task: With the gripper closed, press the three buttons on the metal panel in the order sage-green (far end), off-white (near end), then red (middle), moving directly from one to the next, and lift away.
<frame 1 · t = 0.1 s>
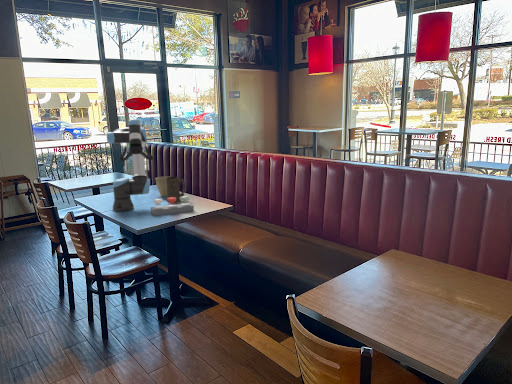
hand: (137, 169, 235), 36 cm above the table, tool tilted 35°, fingers open, 13 cm apart
button panel: (172, 211, 273), on the table
white button: (158, 202, 268), point 8 cm above the table, slide at 0.0 cm
green button: (185, 199, 276), point 8 cm above the table, slide at 0.0 cm
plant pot: (165, 195, 330), on the table
beer stein: (176, 200, 310), on the table
red button: (172, 200, 272), point 8 cm above the table, slide at 0.0 cm
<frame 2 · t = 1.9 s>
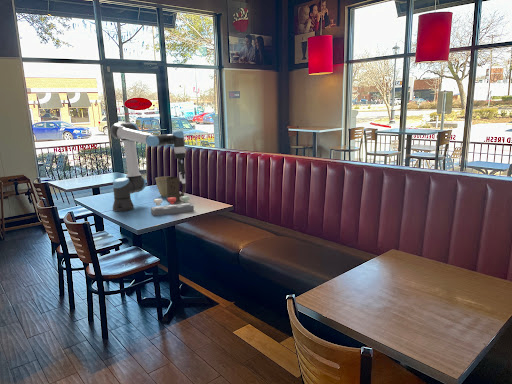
hand: (182, 182, 269), 22 cm above the table, tool pointing down, fingers open, 13 cm apart
nothing on the table moved.
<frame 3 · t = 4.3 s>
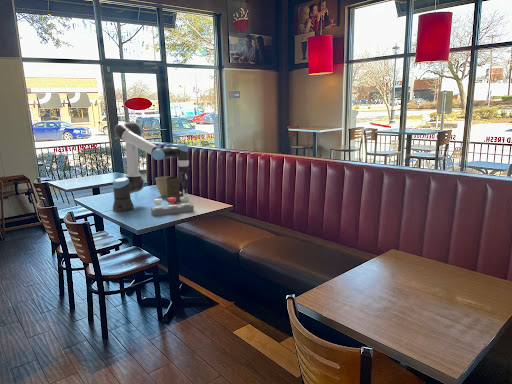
hand: (185, 197, 276), 10 cm above the table, tool pointing down, fingers closed
green button: (185, 200, 276), point 7 cm above the table, slide at 0.9 cm, touching gripper
everything else where it was.
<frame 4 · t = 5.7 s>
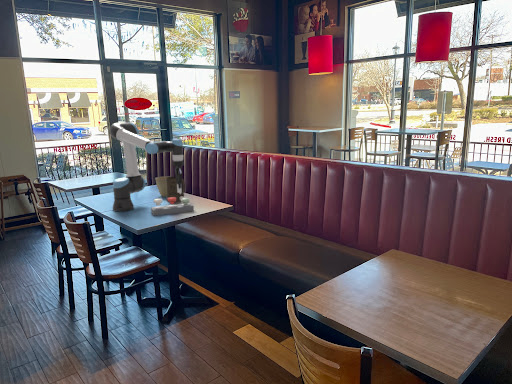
hand: (179, 192, 273), 14 cm above the table, tool pointing down, fingers closed
green button: (185, 201, 276), point 7 cm above the table, slide at 1.5 cm
everything else where it was.
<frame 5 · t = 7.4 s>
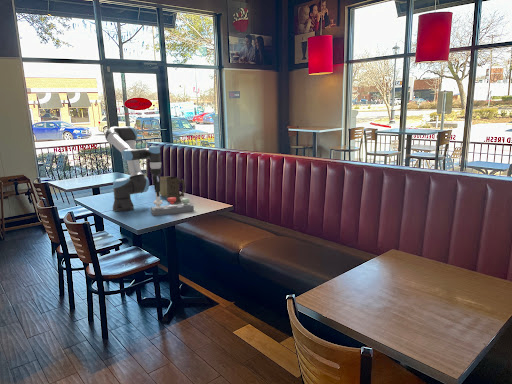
hand: (158, 200, 267), 10 cm above the table, tool pointing down, fingers closed
white button: (158, 203, 268), point 7 cm above the table, slide at 1.0 cm, touching gripper
everything else where it was.
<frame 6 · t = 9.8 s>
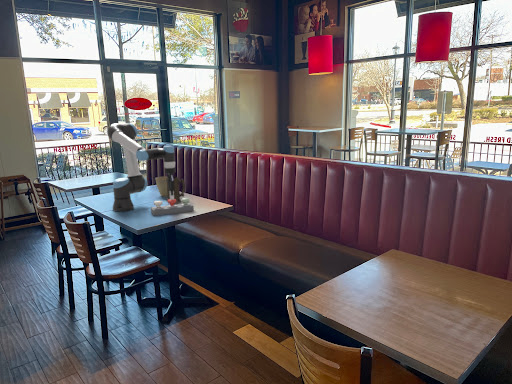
hand: (172, 199, 271), 9 cm above the table, tool pointing down, fingers closed
white button: (158, 204, 268), point 7 cm above the table, slide at 1.5 cm
red button: (172, 202, 272), point 7 cm above the table, slide at 1.3 cm, touching gripper
everything else where it was.
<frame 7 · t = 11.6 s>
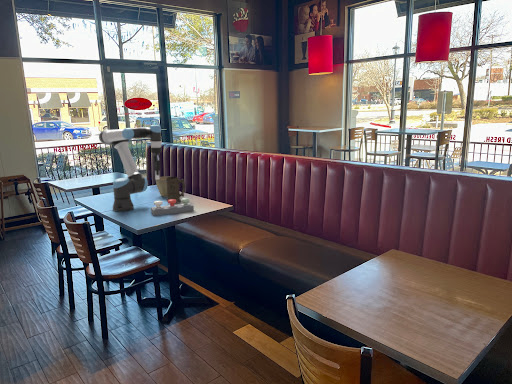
hand: (157, 179, 272), 24 cm above the table, tool pointing down, fingers closed
red button: (172, 202, 272), point 7 cm above the table, slide at 1.5 cm
everything else where it was.
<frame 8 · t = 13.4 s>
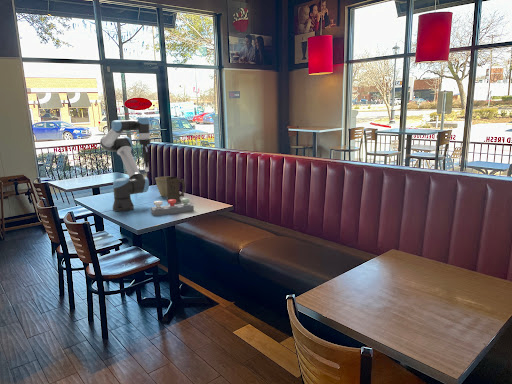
hand: (146, 171, 273), 29 cm above the table, tool pointing down, fingers closed
nothing on the table moved.
at the end: green button slide at 1.5 cm; white button slide at 1.5 cm; red button slide at 1.5 cm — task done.
